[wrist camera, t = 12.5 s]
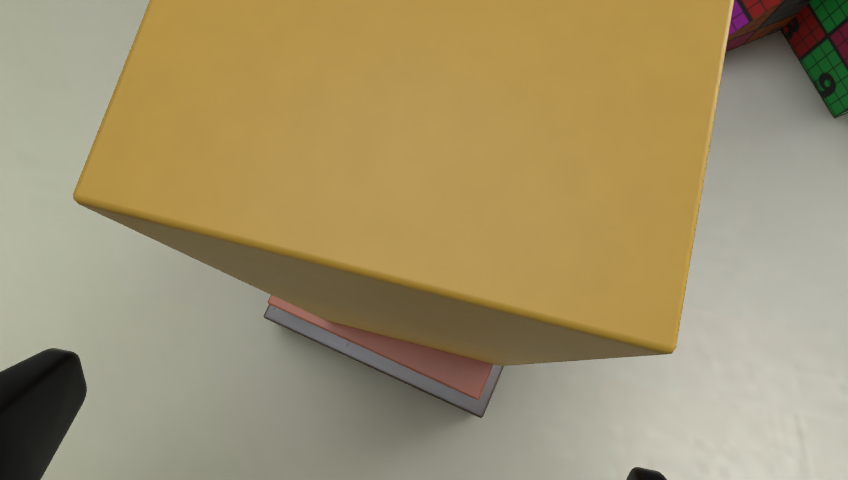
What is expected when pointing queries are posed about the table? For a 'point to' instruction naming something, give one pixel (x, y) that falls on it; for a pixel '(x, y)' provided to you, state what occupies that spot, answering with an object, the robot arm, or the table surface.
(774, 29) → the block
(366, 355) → the stack
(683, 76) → the yellow block
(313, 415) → the table surface
